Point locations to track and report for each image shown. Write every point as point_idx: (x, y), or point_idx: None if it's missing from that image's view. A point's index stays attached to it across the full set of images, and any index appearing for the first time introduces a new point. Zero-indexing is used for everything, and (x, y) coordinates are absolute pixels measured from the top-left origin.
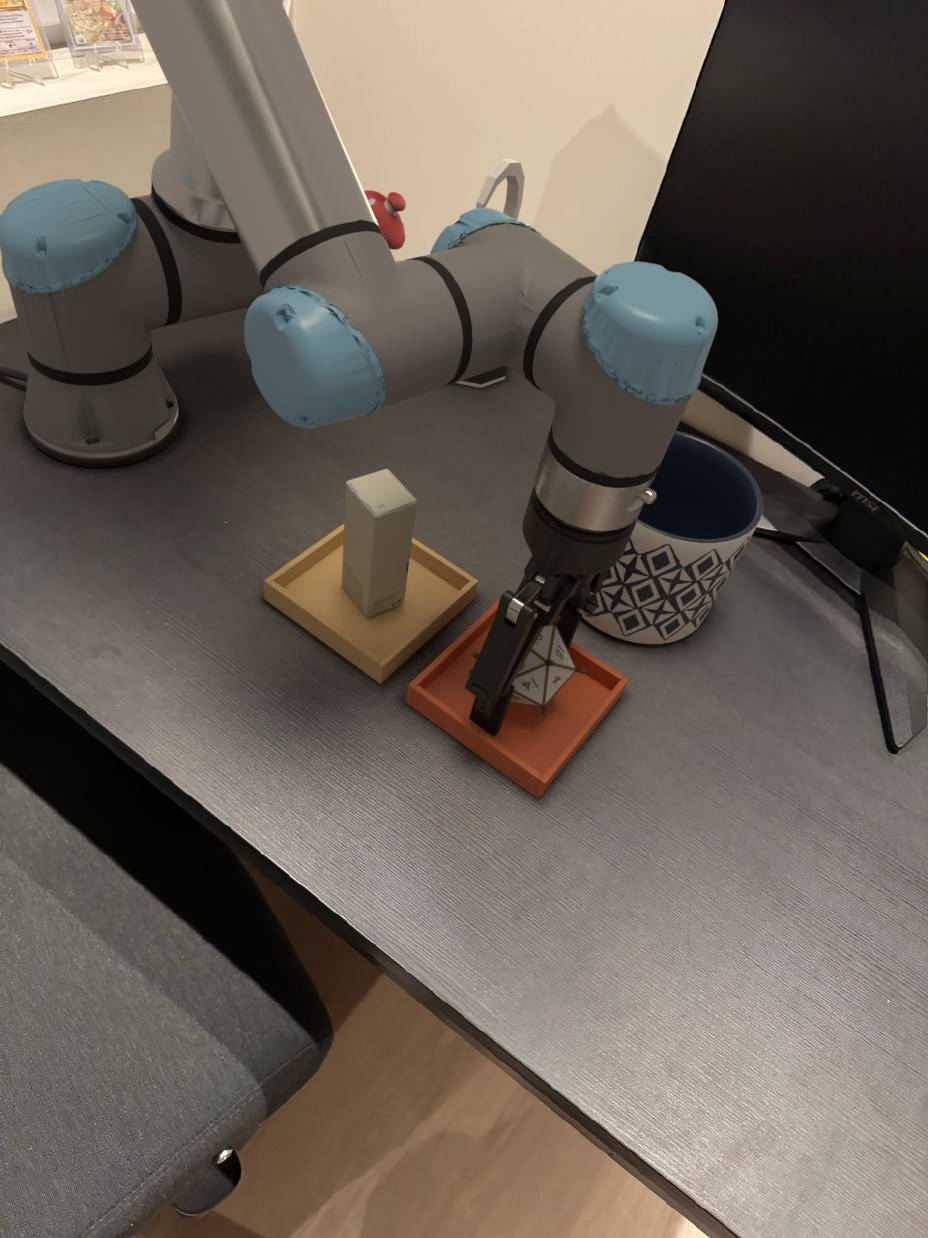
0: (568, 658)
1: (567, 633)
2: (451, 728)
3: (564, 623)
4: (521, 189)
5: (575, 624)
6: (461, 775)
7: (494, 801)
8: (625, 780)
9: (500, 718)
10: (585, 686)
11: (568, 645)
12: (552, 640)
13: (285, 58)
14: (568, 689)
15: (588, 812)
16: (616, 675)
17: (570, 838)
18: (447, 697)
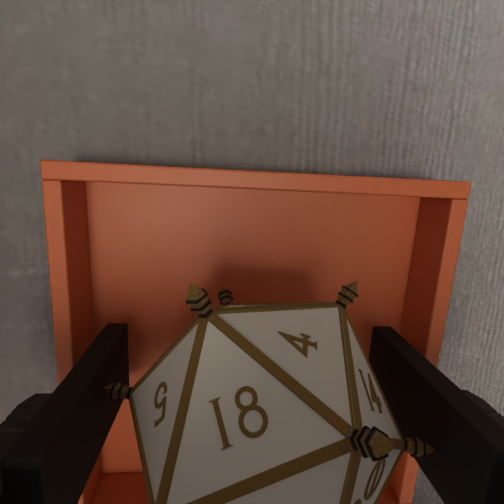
0: (212, 366)
1: (86, 403)
2: None
3: (73, 448)
4: None
5: (56, 433)
6: (456, 317)
7: (472, 244)
8: (277, 41)
9: (428, 362)
10: (124, 243)
11: (95, 358)
12: (245, 487)
13: None
14: (160, 268)
15: (397, 77)
16: (57, 197)
17: (470, 81)
18: None
